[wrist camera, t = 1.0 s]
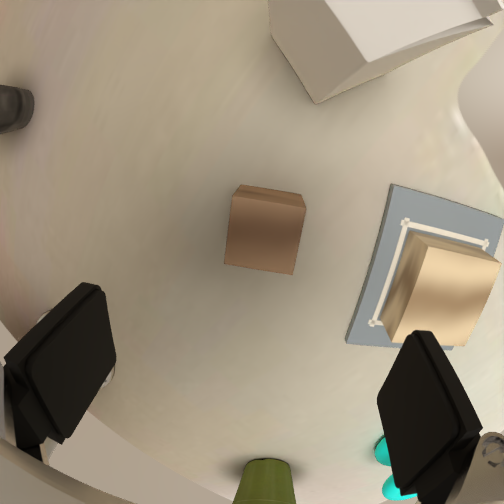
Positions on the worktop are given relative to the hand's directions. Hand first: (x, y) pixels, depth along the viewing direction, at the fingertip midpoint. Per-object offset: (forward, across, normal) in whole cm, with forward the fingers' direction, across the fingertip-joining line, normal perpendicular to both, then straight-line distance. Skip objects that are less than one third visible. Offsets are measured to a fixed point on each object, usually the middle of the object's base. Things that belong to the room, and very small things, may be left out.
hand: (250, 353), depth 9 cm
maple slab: (+18, -16, +5) cm, 25 cm away
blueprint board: (+18, -16, +5) cm, 25 cm away
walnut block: (+18, 0, +1) cm, 18 cm away
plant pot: (+18, -5, +41) cm, 45 cm away
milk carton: (+18, -3, -14) cm, 23 cm away
